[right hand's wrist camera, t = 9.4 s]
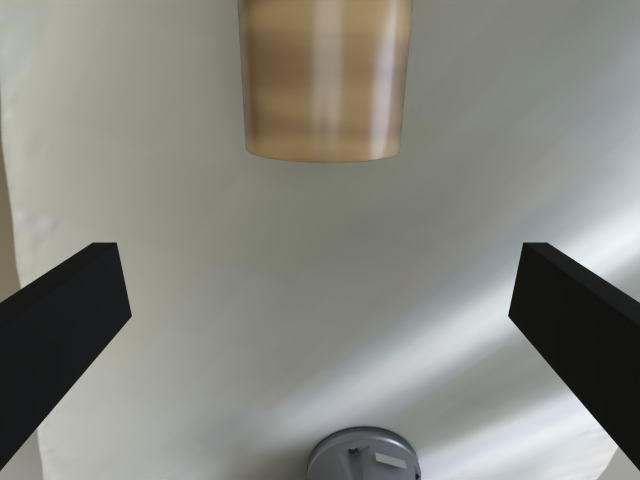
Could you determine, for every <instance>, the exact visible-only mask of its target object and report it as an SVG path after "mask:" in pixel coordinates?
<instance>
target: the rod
mask: <svg viewBox="0 0 640 480" xmlns="http://www.w3.org/2000/svg"><path fill="white" fill-rule="evenodd" d="M237 2H238V20H239V37H240V54H241V72H242V89H243V107H244V124H245V141H246V151H247V152H249V153H251V154H253V155H256V156H260V157H265V158H270V159H277V160H286V161H298V162H322V163H338V162H361V161H372V160H379V159H385V158H389V157H392V156H395V155H397V154H398V153H399V150H400V139H401V128H402V117H403V106H404V95H405V84H406V73H407V62H408V51H409V41H410V30H411V19H412V8H413V0H237Z"/></svg>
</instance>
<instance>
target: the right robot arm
mask: <svg viewBox="0 0 640 480" xmlns="http://www.w3.org/2000/svg"><path fill="white" fill-rule="evenodd" d="M131 317H132V314H131V309H130V305H129V300H128V295H127V290H126V285H125V280H124V276H123V271H122V266H121V261H120V256H119V251H118V247H117V243H92V244H90V245H88V246H87V247H85V248H84V249H82V250H81V251H79V252H78V253H76V254H75V255H73V256H72V257H70V258H68V259H67V260H65V261H64V262H62V263H61V264H59V265H58V266H56V267H55V268H53V269H52V270H50V271H48V272H47V273H45V274H44V275H42V276H41V277H39V278H38V279H36V280H35V281H33V282H32V283H30V284H28V285H27V286H25V287H24V288H22V289H21V290H19V291H18V292H16V293H15V294H13V295H12V296H10V297H9V298H7V299H6V300H4V301H2V302H1V303H0V471H1V470H2V468H3V467H4V466H5V465H6V464H7V462H8V461H9V460H10V459H11V458H12V457H13V455H14V454H15V453H16V452H17V451H18V450H19V448H20V447H21V446H22V445H23V444H24V442H25V441H26V440H27V439H28V438H29V437H30V435H31V434H32V433H33V432H34V431H35V429H36V428H37V427H38V426H39V425H40V424H41V422H42V421H43V420H44V419H45V418H46V417H47V415H48V414H49V413H50V412H51V411H52V410H53V408H54V407H55V406H56V405H57V404H58V402H59V401H60V400H61V399H62V398H63V397H64V395H65V394H66V393H67V392H68V391H69V390H70V388H71V387H72V386H73V385H74V384H75V382H76V381H77V380H78V379H79V378H80V377H81V375H82V374H83V373H84V372H85V371H86V370H87V368H88V367H89V366H90V365H91V364H92V362H93V361H94V360H95V359H96V358H97V357H98V355H99V354H100V353H101V352H102V351H103V350H104V348H105V347H106V346H107V345H108V344H109V342H110V341H111V340H112V339H113V338H114V337H115V335H116V334H117V333H118V332H119V331H120V330H121V328H122V327H123V326H124V325H125V324H126V322H127V321H128V320H129V319H130V318H131ZM508 317H509V318H510V319H511V320H512V321H513V322H514V324H515V325H516V326H517V327H518V328H519V330H520V331H521V332H522V333H523V334H524V335H525V337H526V338H527V339H528V340H529V341H530V342H531V344H532V345H533V346H534V347H535V348H536V350H537V351H538V352H539V353H540V354H541V355H542V357H543V358H544V359H545V360H546V361H547V362H548V364H549V365H550V366H551V367H552V368H553V370H554V371H555V372H556V373H557V374H558V375H559V377H560V378H561V379H562V380H563V381H564V382H565V384H566V385H567V386H568V387H569V388H570V390H571V391H572V392H573V393H574V394H575V395H576V397H577V398H578V399H579V400H580V401H581V402H582V404H583V405H584V406H585V407H586V408H587V410H588V411H589V412H590V413H591V414H592V415H593V417H594V418H595V419H596V420H597V421H598V422H599V424H600V425H601V426H602V427H603V428H604V430H605V431H606V432H607V433H608V434H609V435H610V437H611V438H612V439H613V440H614V441H615V443H616V444H617V445H618V446H619V447H620V448H621V450H622V451H623V452H624V453H625V454H626V455H627V457H628V458H629V459H630V460H631V461H632V463H633V464H634V465H635V466H636V467H637V468H638V470H639V471H640V303H639V302H638V301H636V300H635V299H633V298H631V297H630V296H628V295H627V294H625V293H624V292H622V291H621V290H619V289H618V288H616V287H615V286H613V285H612V284H610V283H608V282H607V281H605V280H604V279H602V278H601V277H599V276H598V275H596V274H595V273H593V272H592V271H590V270H588V269H587V268H585V267H584V266H582V265H581V264H579V263H578V262H576V261H575V260H573V259H572V258H570V257H568V256H567V255H565V254H564V253H562V252H561V251H559V250H558V249H556V248H555V247H553V246H552V245H550V244H548V243H523V247H522V251H521V256H520V261H519V266H518V271H517V276H516V280H515V285H514V290H513V295H512V300H511V305H510V309H509V314H508ZM307 480H421V472H420V467H419V463H418V460H417V456H416V454H415V451H414V450H413V448H412V447H411V446H410V444H409V443H408V442H406V441H405V440H404V439H403V438H401V437H400V436H398V435H396V434H394V433H392V432H389V431H386V430H382V429H377V428H353V429H348V430H344V431H341V432H338V433H335V434H333V435H331V436H329V437H328V438H326V439H325V440H323V441H322V442H321V443H320V444H318V446H317V447H316V448H315V449H314V450H313V452H312V454H311V455H310V458H309V461H308V471H307Z"/></svg>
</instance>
